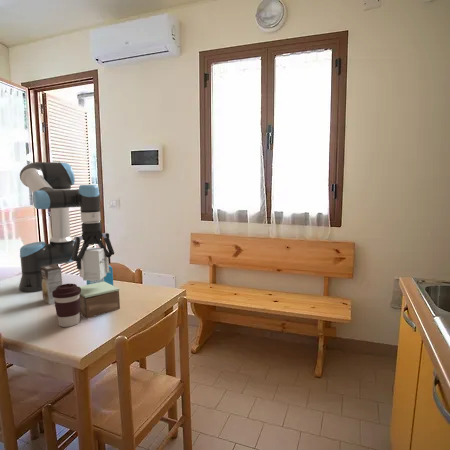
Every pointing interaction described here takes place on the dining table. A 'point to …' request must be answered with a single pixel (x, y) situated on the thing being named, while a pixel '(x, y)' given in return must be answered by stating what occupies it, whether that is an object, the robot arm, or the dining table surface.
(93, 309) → the box
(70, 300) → the coffee cup
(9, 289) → the dining table surface
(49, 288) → the coffee box
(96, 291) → the lid
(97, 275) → the supplement box
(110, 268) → the data package
